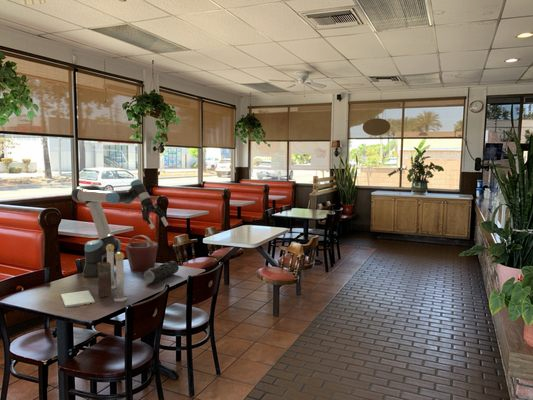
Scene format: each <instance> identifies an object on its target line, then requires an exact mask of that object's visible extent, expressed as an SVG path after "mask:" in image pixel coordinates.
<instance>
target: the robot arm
mask: <svg viewBox="0 0 533 400" xmlns="http://www.w3.org/2000/svg"><path fill="white" fill-rule="evenodd" d="M71 198H72V200H74V202H76V203H84V204H85V206H86V207H88V209H89V211H90V214H91V217H92V220H93V223H94V225H95V228H96V232H97V234H98V238H97V239H94V240H89V241H87V242H85V244H84V267H83V270H82V276H83V277H85V278H98V262H104V258H107V251H106V246H107V245H108V244H112V245H113V246H114V256H115V255H116V253H118V252H121V248H122V243H121V240H120V239H118V238H116V237H115V235H114V234H113V233H112V232H111V229H110V226H109V223H108V220H107V217H106V214H105V211H104V208H103V206H102V203H108V204H112V205H113V204H119V203H120V204H122V203H123V204H125V205H130V204H132V203H133V202H134V201H135V200H137V199H138V201H139V203H140V205H141V207H140V210H141V217H142V220H143V221H144V222H146V223H147V225H148V226H149V227H150V230H153V229H154V228H155V225H154V223H153V221H152V220H151V218H150V213H154V214H155V215H157V216H159V217H160V220H161V222H162V224H163V225H164V227H167V226H169V223H168V221H167V219H166V215H167V214H166V213H165V212H164V211H163V210H162V209H161V208H160V207H159V206H158V204H157V203H156V204H154V201H153V200H152V198H151V195H149V192H148V191H147V189H146V187H145V185H144V183H143V181H142V180H141V179H140V178H139V179H138V178H136V179H134V180H132V181H131V182H130V188H129V189H128V190H123V191H111V190H110V191H109V190H108V191H107V190H103V189H102V188H101V187H100V186H99V185H93V184H91V185H79V186H76V187H74V188H73V189H72V191H71Z"/></svg>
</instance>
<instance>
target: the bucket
mask: <svg viewBox="0 0 533 400" xmlns="http://www.w3.org/2000/svg"><path fill="white" fill-rule="evenodd" d="M138 237H141V238H143V239H145V240H146V241H136V242H133V241H135V240H137V238H138ZM158 247H159V245H158V242H154V241H152V239H151V238H150V237H148V236H147V235H144V234H140V235H139V234H138V235H134V236H133V237H132V238H131V239H130V240H129V243H128V244H125V252H126V256H127V260H128V265H129V270H130V271H131V270H132V272H133V273H145V271H146V270H148V269H150V268H154V267H155V266H156V265H155V264H156V259H157V252H158Z"/></svg>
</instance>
